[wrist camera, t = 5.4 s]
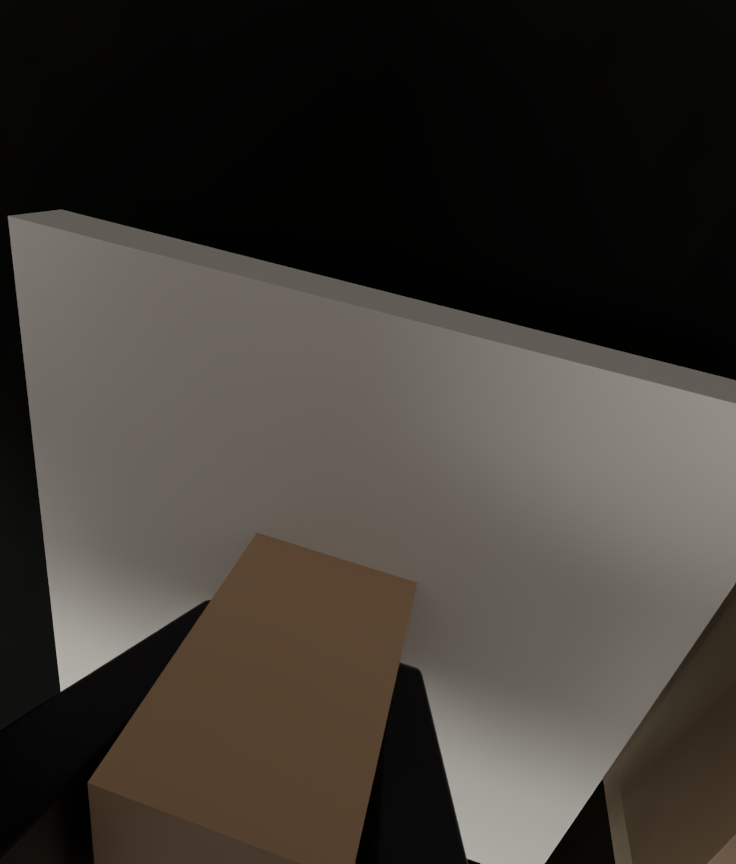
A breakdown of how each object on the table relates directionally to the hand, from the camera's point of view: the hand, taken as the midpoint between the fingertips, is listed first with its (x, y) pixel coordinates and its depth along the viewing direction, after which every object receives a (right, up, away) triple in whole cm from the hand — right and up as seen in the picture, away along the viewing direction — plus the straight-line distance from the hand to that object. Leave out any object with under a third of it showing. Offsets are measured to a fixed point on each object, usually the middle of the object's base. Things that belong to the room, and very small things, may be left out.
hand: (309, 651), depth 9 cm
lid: (0, +1, +1) cm, 2 cm away
